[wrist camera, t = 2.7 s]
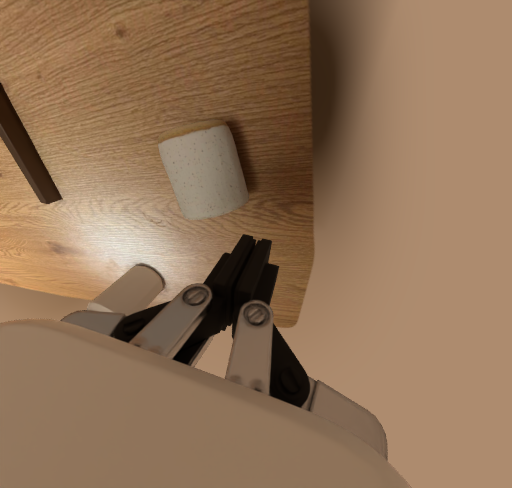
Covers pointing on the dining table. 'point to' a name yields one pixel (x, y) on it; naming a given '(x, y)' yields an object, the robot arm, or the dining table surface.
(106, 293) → the can
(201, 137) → the ceramic mug
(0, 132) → the back rail
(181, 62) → the dining table surface
